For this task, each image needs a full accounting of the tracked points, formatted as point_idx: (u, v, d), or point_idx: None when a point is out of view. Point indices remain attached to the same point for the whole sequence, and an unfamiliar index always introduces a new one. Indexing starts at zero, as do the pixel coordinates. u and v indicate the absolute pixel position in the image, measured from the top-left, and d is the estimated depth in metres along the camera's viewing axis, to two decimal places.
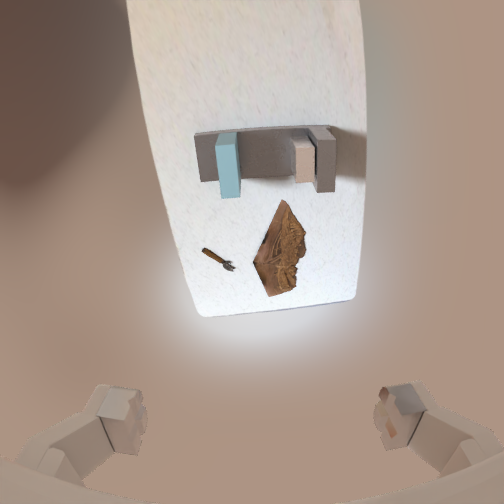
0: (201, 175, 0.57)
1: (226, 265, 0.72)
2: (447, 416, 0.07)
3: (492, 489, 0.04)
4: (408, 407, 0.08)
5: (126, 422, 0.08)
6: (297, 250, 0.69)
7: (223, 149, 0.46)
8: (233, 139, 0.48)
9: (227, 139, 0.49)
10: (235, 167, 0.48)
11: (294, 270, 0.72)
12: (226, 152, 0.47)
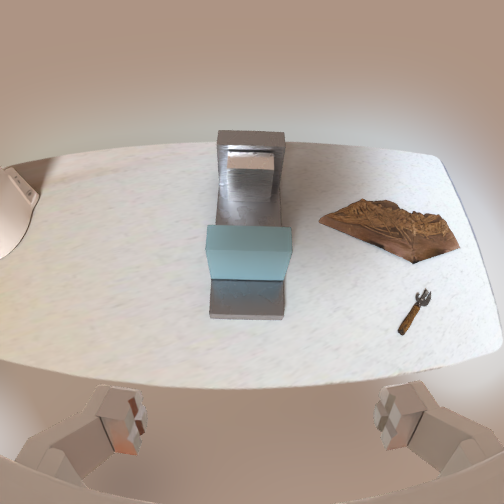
0: (273, 313, 0.38)
1: (423, 300, 0.41)
2: (447, 416, 0.07)
3: (492, 489, 0.04)
4: (408, 407, 0.08)
5: (126, 422, 0.08)
6: (388, 208, 0.48)
7: (212, 239, 0.33)
8: None
9: None
10: (243, 227, 0.34)
11: (416, 214, 0.48)
12: (218, 236, 0.34)
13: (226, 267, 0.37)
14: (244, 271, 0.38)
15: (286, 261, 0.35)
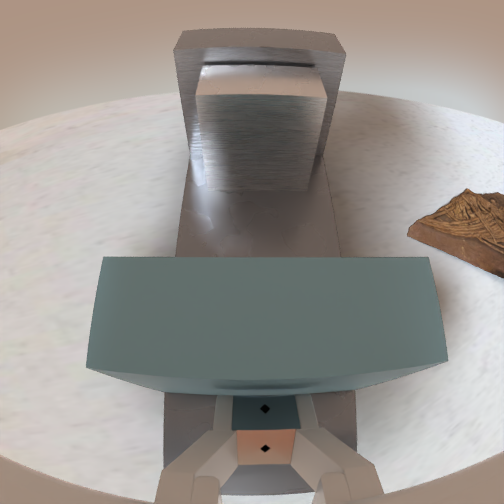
0: None
1: None
2: (322, 439, 0.07)
3: (492, 489, 0.04)
4: (279, 422, 0.08)
5: (265, 431, 0.08)
6: None
7: (115, 321, 0.07)
8: None
9: None
10: (244, 266, 0.08)
11: None
12: (137, 307, 0.07)
13: (195, 389, 0.10)
14: (254, 392, 0.11)
15: (400, 375, 0.09)
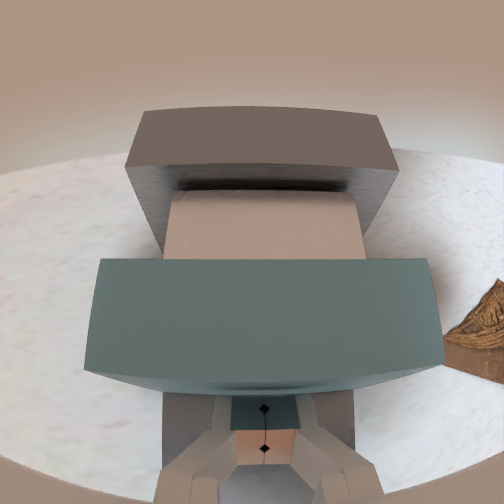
0: None
1: None
2: (322, 439, 0.07)
3: (492, 489, 0.04)
4: (279, 422, 0.08)
5: (264, 431, 0.08)
6: None
7: (113, 324, 0.07)
8: None
9: None
10: (242, 268, 0.08)
11: None
12: (134, 309, 0.07)
13: (194, 390, 0.10)
14: (252, 392, 0.11)
15: (398, 376, 0.09)
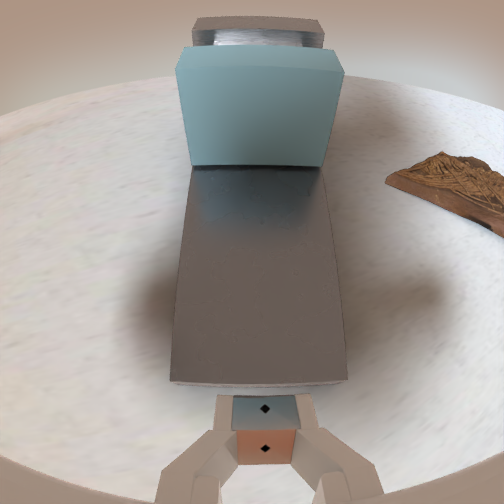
0: (322, 375, 0.15)
1: None
2: (322, 439, 0.07)
3: (492, 489, 0.04)
4: (279, 422, 0.08)
5: (266, 431, 0.08)
6: (479, 168, 0.25)
7: (191, 58, 0.15)
8: None
9: None
10: (247, 46, 0.16)
11: None
12: (201, 54, 0.15)
13: (218, 127, 0.18)
14: (252, 139, 0.19)
15: (331, 103, 0.17)
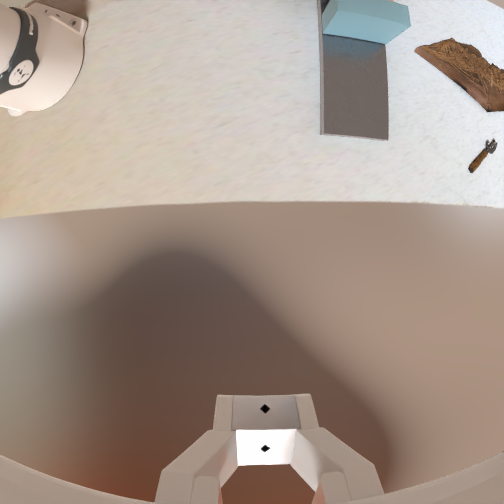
0: (379, 136, 0.37)
1: (490, 148, 0.39)
2: (322, 439, 0.07)
3: (492, 489, 0.04)
4: (279, 422, 0.08)
5: (266, 431, 0.08)
6: (473, 54, 0.34)
7: (343, 2, 0.25)
8: (330, 1, 0.28)
9: (330, 9, 0.28)
10: None
11: (495, 67, 0.35)
12: (347, 0, 0.25)
13: (345, 26, 0.30)
14: (358, 31, 0.31)
15: (400, 31, 0.28)
